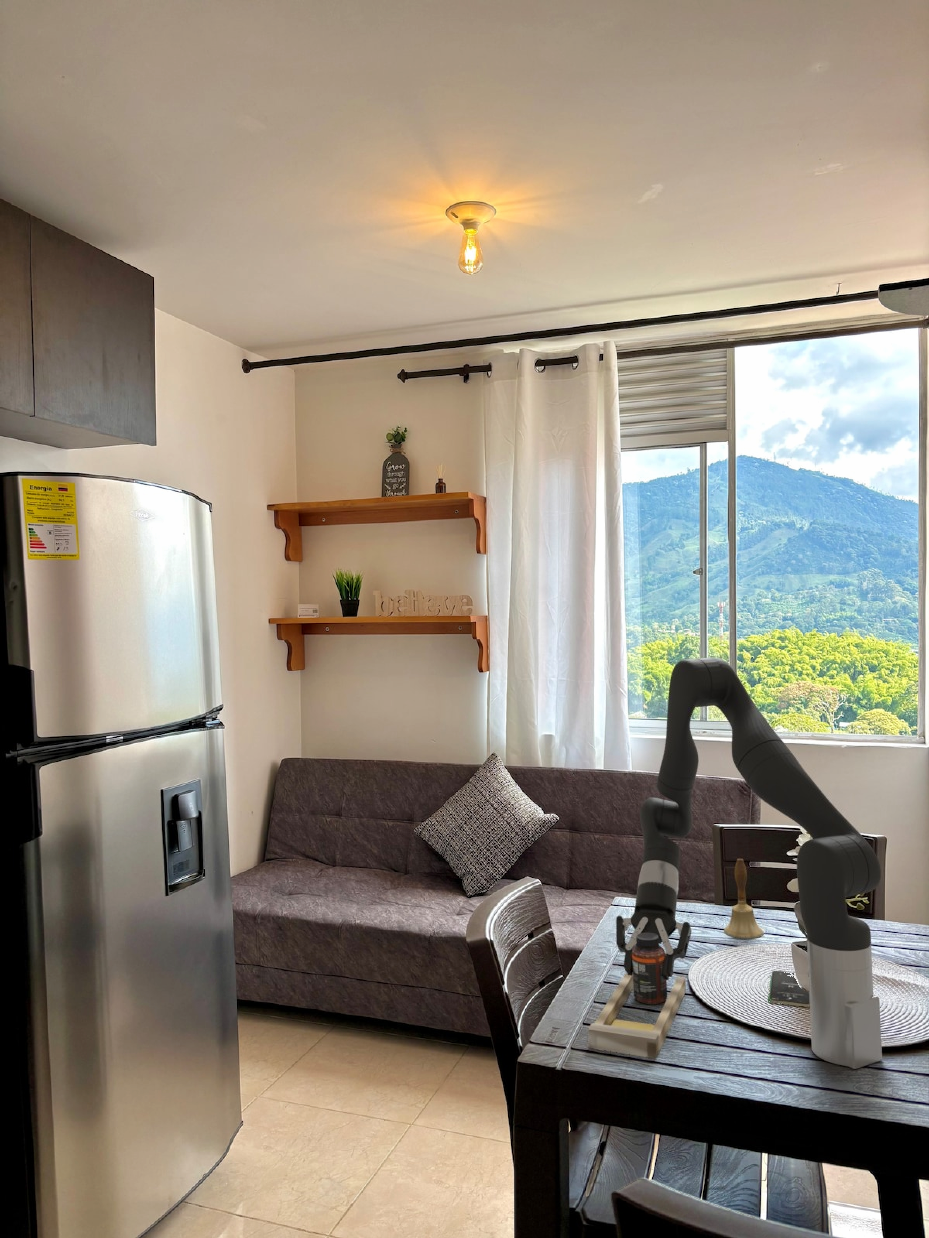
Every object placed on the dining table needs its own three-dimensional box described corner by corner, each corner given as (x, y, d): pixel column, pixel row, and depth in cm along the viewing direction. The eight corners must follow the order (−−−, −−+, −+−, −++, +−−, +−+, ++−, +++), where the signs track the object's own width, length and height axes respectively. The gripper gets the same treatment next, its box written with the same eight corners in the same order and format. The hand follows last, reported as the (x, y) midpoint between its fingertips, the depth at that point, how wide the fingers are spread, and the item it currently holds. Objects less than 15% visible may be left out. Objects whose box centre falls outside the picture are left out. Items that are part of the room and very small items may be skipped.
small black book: (813, 973, 166) (813, 1004, 152) (813, 978, 166) (813, 1010, 152) (771, 969, 169) (767, 999, 155) (771, 974, 169) (767, 1004, 155)
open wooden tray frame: (627, 983, 165) (627, 967, 166) (685, 990, 161) (685, 974, 161) (588, 1047, 140) (588, 1029, 140) (656, 1058, 135) (655, 1039, 136)
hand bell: (716, 931, 193) (713, 858, 194) (740, 923, 198) (737, 853, 198) (746, 941, 186) (743, 866, 187) (771, 933, 191) (768, 859, 191)
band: (614, 1021, 149) (614, 1018, 149) (659, 1027, 146) (659, 1025, 146) (607, 1033, 145) (607, 1031, 145) (653, 1040, 142) (653, 1038, 142)
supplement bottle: (665, 992, 160) (662, 930, 161) (669, 1005, 155) (666, 941, 155) (632, 992, 161) (629, 930, 161) (635, 1005, 155) (632, 941, 155)
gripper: (616, 877, 168) (603, 961, 157) (693, 883, 162) (685, 970, 151) (624, 897, 173) (612, 980, 161) (698, 903, 167) (691, 990, 156)
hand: (647, 975), depth 156 cm, fingers closed on supplement bottle, 6 cm apart
